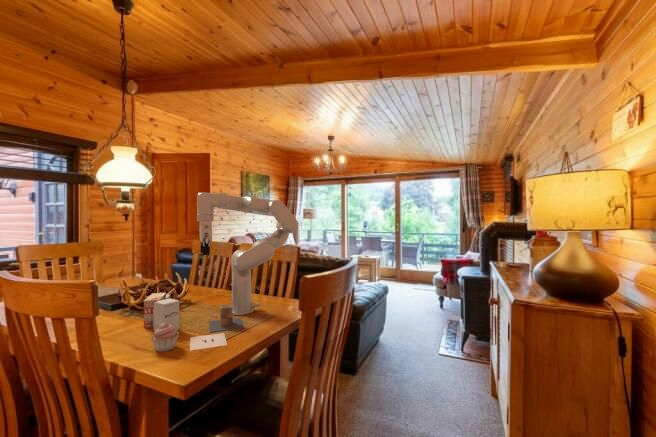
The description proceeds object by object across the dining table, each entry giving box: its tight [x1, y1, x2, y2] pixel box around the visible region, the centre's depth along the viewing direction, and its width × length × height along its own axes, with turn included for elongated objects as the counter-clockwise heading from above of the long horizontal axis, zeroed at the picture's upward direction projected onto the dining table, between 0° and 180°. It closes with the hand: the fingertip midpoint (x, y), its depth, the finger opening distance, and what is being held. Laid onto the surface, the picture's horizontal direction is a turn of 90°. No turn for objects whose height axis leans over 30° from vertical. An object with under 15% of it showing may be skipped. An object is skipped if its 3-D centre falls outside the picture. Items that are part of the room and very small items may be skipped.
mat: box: [208, 317, 245, 334], centre depth 142 cm, size 14×14×1 cm
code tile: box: [189, 332, 228, 351], centre depth 124 cm, size 13×13×1 cm
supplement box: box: [153, 298, 180, 332], centre depth 135 cm, size 7×7×13 cm
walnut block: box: [219, 304, 234, 327], centre depth 142 cm, size 5×5×8 cm
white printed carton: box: [143, 292, 171, 329], centre depth 149 cm, size 21×6×12 cm, turn 14°
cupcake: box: [150, 322, 180, 353], centre depth 117 cm, size 9×9×10 cm
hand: (204, 253), depth 153 cm, fingers open, 9 cm apart
